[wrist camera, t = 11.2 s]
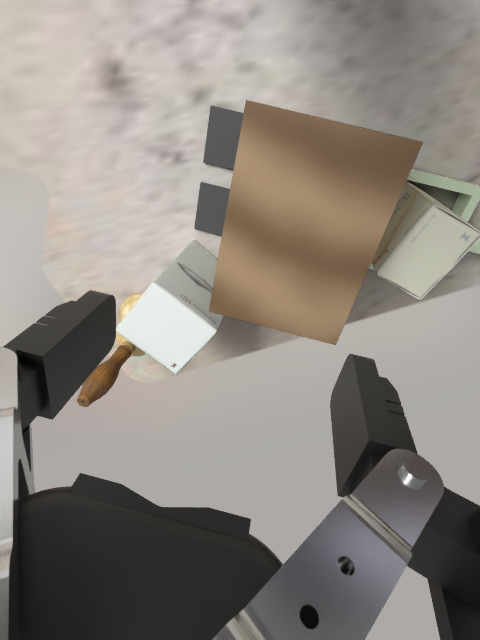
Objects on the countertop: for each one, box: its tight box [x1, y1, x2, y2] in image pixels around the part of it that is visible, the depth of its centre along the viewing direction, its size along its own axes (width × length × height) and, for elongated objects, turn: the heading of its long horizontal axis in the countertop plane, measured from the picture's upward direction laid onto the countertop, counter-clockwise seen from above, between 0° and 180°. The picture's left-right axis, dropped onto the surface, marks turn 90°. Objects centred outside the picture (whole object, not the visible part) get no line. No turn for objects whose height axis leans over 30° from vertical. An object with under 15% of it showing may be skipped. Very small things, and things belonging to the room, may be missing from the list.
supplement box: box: [116, 240, 224, 374], centre depth 37 cm, size 7×7×13 cm
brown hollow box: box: [208, 100, 423, 345], centre depth 29 cm, size 14×10×15 cm
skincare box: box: [372, 181, 480, 299], centre depth 30 cm, size 6×4×12 cm
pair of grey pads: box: [194, 106, 244, 235], centre depth 36 cm, size 12×4×1 cm, turn 169°
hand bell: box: [77, 293, 146, 407], centre depth 40 cm, size 8×8×16 cm
